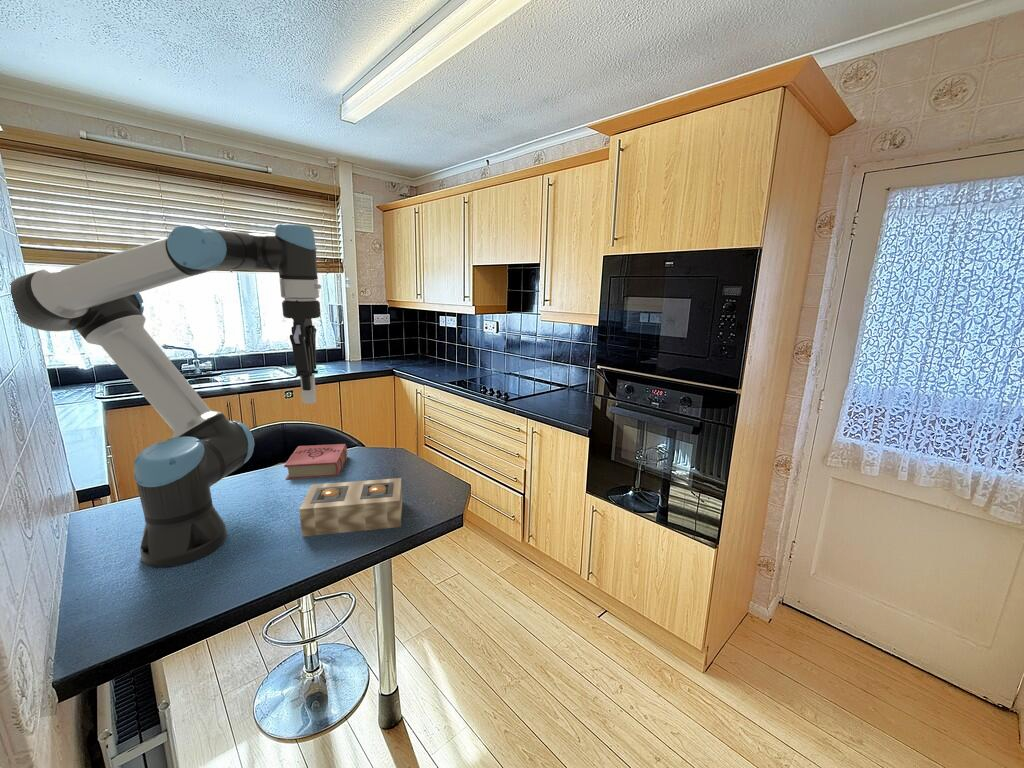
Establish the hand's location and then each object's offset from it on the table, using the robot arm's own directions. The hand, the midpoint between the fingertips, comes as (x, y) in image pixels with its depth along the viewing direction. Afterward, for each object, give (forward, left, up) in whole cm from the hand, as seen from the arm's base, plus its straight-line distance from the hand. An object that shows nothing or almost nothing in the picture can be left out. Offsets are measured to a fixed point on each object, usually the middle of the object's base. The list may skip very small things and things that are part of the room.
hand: (309, 402), depth 100 cm
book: (-6, +30, -30) cm, 43 cm away
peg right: (+14, -2, -29) cm, 32 cm away
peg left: (+3, -2, -29) cm, 29 cm away
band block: (+9, -2, -30) cm, 31 cm away
